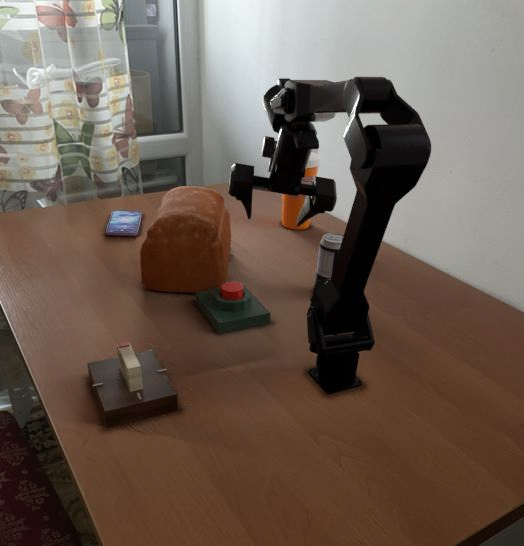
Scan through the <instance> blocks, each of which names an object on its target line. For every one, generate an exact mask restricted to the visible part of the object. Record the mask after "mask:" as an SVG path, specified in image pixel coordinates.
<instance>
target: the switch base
mask: <svg viewBox="0 0 524 546" xmlns="http://www.w3.org/2000/svg"><path fill="white" fill-rule="evenodd" d="M134 353H135V355H136V358H137V360H138V362H139V364H140V366H141V375H142V386H143V389H141V390H136V391H132V392H130V390H129V388H128V386H127V383H126V381H125V379H124V377H123V374H122V372H121V370H120V367H119V361H118V356H114V357H110V358H104V359H100V360H95V361H91V362H87V363H86V364H87V369H88V374H89V375H88V377H89V381H90V384H91V386H92V389H93V392H94V395H95V398H96V401H97V404H98V406H99V409H100V412H101V415H102V418H103V420H104V423H105V426H106V428H107V429H111V428H114V427H118V426H121V425H125V424H130V423H134V422H137V421H142V420H147V419H149V418H153V417H157V416H161V415H165V414H169V413H172V412H176V411H179V407H178V394H177V392H176V389H175V387H174V385H173V384H172V382H171V380H170V378H169V377H168V374H167V373H166V371H168V369H167V368H164V367H163V365H162V363H161V362H160V360H159V358H158V356H157V354H156V352H155V351H154V349H148V350H144V351H139V352H134Z"/></svg>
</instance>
